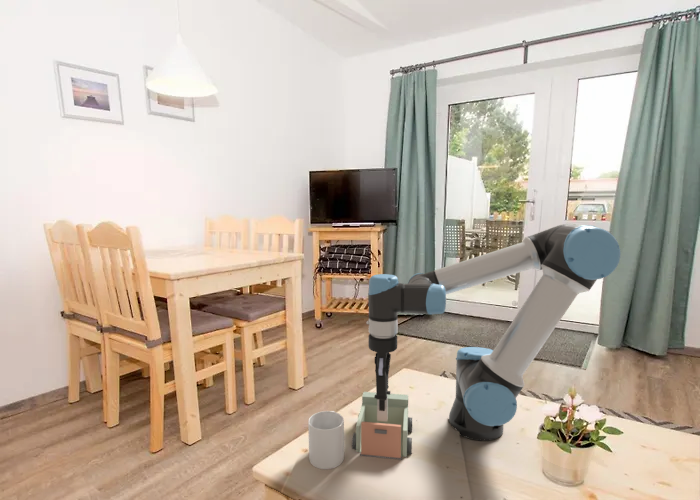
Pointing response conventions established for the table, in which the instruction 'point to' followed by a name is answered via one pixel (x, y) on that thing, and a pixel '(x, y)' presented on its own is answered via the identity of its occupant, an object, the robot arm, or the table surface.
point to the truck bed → (395, 416)
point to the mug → (326, 439)
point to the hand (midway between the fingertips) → (382, 419)
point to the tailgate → (381, 440)
